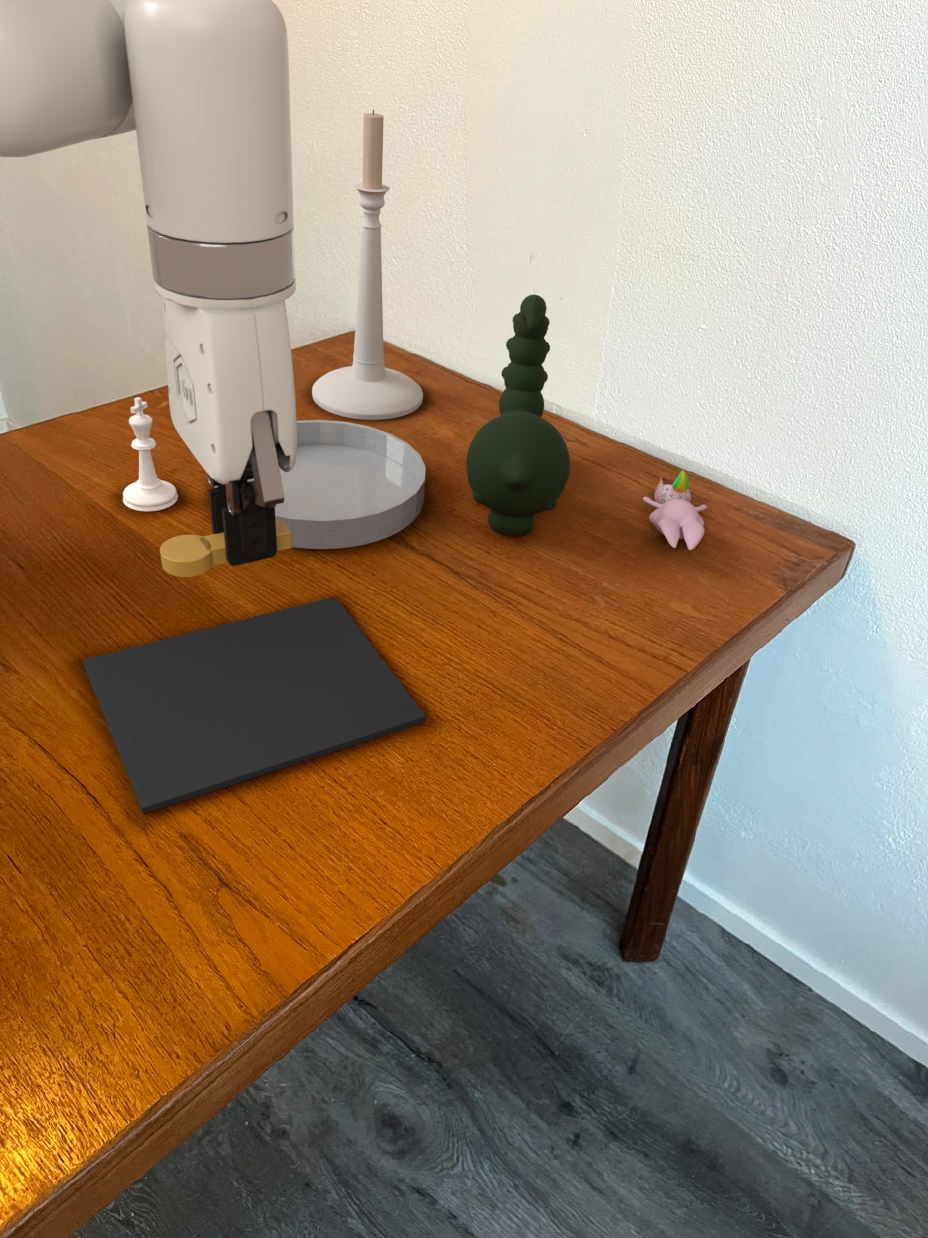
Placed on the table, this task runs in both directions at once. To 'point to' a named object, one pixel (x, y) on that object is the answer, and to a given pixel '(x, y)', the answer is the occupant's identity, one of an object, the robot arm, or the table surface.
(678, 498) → the pink stuffed animal
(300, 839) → the table surface
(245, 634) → the felt mat
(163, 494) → the chess piece
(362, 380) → the candlestick
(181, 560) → the brass key
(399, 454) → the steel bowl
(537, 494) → the toy figurine
